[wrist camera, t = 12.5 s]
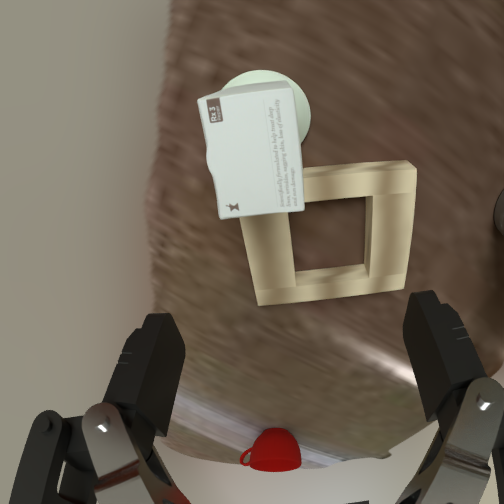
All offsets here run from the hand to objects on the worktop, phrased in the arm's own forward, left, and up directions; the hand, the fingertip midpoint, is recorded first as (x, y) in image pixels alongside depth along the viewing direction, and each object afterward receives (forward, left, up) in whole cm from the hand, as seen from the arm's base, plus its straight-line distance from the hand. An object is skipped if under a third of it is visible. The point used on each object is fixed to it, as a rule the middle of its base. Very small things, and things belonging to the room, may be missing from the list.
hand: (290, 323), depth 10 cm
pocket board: (-5, +13, -26) cm, 30 cm away
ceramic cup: (+10, +73, -27) cm, 78 cm away
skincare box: (+1, -2, -26) cm, 26 cm away
